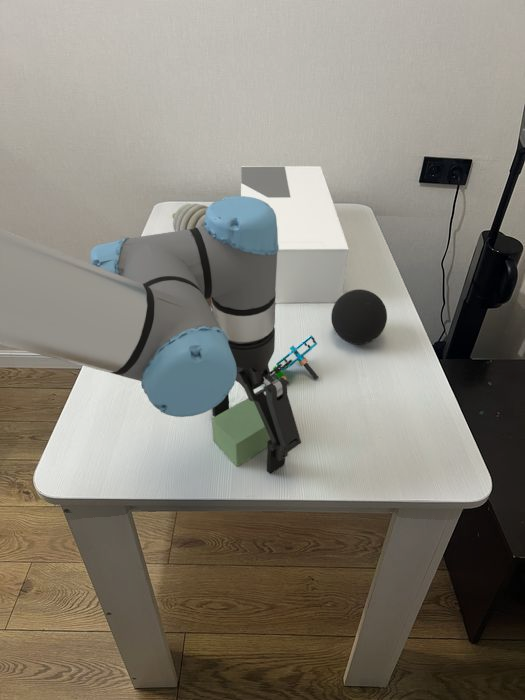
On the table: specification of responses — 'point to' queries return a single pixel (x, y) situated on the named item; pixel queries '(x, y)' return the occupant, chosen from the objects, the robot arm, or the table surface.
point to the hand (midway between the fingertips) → (247, 439)
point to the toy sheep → (189, 217)
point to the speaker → (359, 316)
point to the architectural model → (301, 231)
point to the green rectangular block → (240, 432)
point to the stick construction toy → (300, 359)
